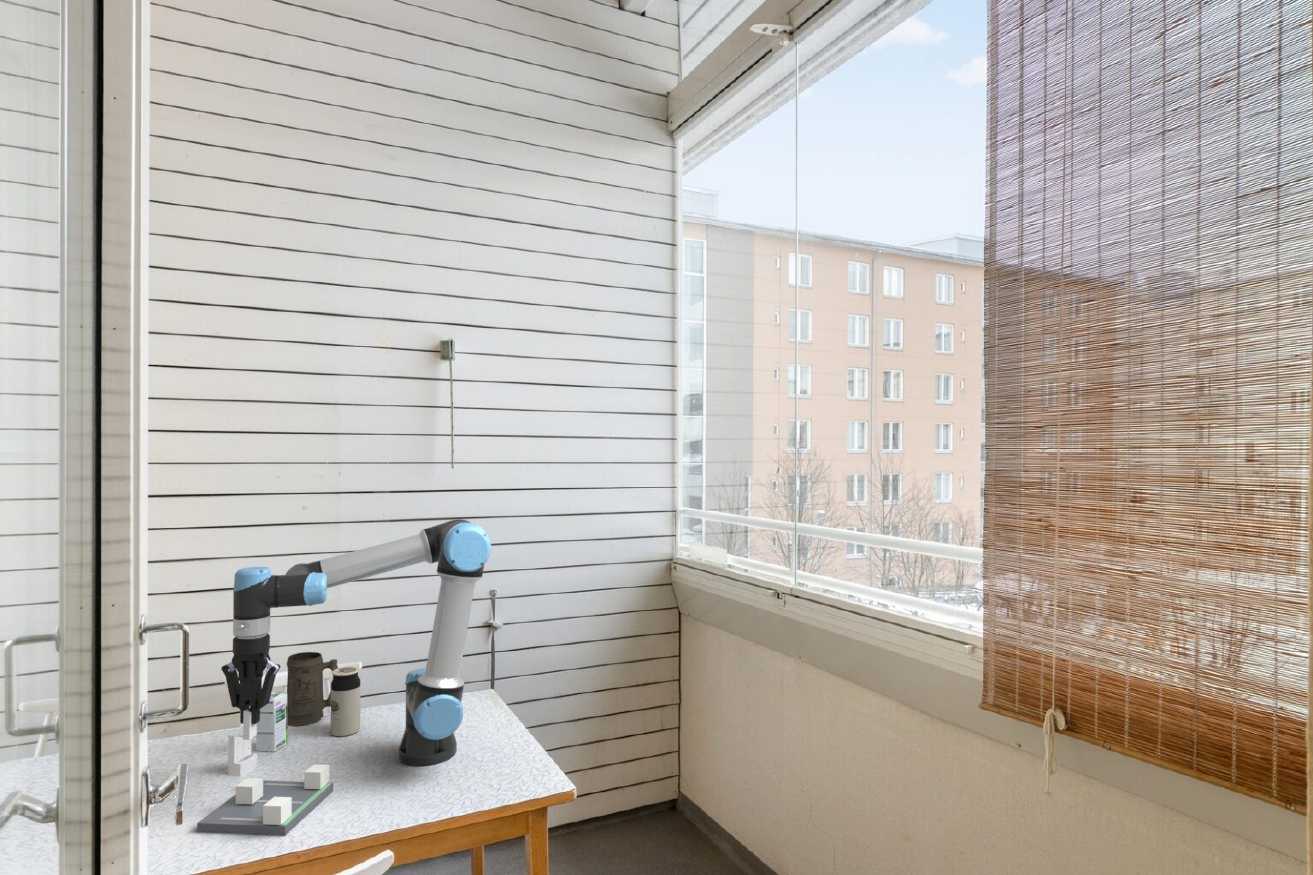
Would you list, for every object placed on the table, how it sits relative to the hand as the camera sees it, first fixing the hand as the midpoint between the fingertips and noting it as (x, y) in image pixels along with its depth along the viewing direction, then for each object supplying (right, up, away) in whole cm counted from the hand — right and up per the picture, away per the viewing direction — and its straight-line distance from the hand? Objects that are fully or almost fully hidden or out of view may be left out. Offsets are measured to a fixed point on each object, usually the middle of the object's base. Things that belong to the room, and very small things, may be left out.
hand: (249, 737), depth 166 cm
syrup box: (-13, -17, +34) cm, 40 cm away
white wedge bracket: (-13, -17, +20) cm, 29 cm away
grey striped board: (+5, -17, 0) cm, 17 cm away
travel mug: (+3, -17, +45) cm, 48 cm away
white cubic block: (0, -15, 0) cm, 15 cm away
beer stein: (-12, -17, +55) cm, 59 cm away
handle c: (+11, -15, -9) cm, 20 cm away
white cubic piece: (+12, -15, +7) cm, 20 cm away
